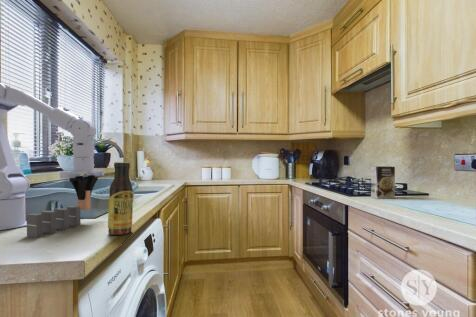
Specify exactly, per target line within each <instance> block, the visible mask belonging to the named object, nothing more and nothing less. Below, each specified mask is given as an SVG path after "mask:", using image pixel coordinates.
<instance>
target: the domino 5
mask: <svg viewBox="0 0 476 317" xmlns="http://www.w3.org/2000/svg"><path fill="white" fill-rule="evenodd" d="M91 196H92V194H91V195H90V191H86V190H85V200H78V199H77V207H80V211H82V210H84V211H88V210H91V208H92V207H91V203H92V200H91Z"/></svg>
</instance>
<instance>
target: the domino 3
mask: <svg viewBox="0 0 476 317" xmlns="http://www.w3.org/2000/svg"><path fill="white" fill-rule="evenodd" d="M54 211H56V230H57V229H58V230H59V231H67V230H66V229H68V230H69V229H70V226H69V209H67V208H62V207H59V208H54Z"/></svg>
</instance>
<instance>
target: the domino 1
mask: <svg viewBox="0 0 476 317" xmlns="http://www.w3.org/2000/svg"><path fill="white" fill-rule="evenodd" d="M26 222H27V226H26V237H29V238H35V239H39V238H42V237H43V235H44V233H43V232H42V214H41V213H28V214H26Z"/></svg>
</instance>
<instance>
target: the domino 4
mask: <svg viewBox="0 0 476 317" xmlns="http://www.w3.org/2000/svg"><path fill="white" fill-rule="evenodd" d="M66 209H69V227H71V226H78V227H80V225H81V209H80V207H78V205H77V206H76V205H75V206H74V205H69V206H66Z"/></svg>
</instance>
